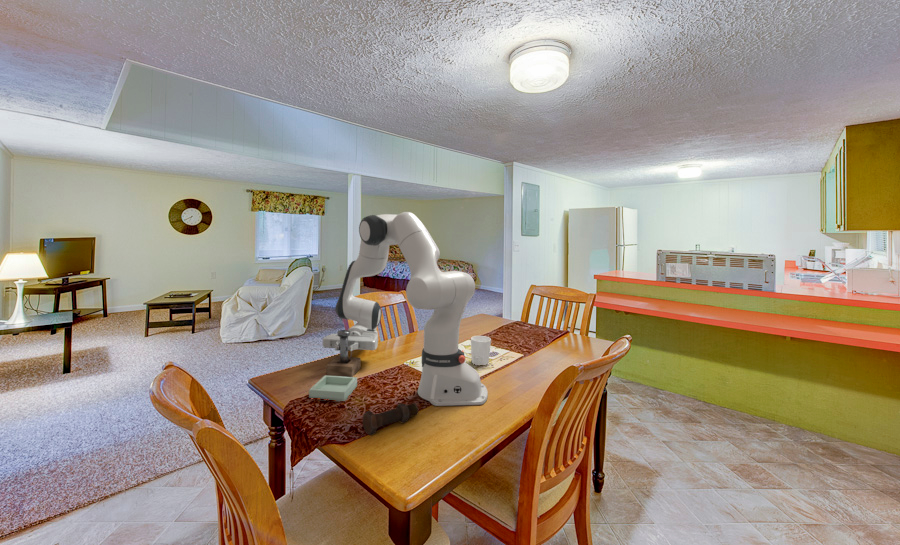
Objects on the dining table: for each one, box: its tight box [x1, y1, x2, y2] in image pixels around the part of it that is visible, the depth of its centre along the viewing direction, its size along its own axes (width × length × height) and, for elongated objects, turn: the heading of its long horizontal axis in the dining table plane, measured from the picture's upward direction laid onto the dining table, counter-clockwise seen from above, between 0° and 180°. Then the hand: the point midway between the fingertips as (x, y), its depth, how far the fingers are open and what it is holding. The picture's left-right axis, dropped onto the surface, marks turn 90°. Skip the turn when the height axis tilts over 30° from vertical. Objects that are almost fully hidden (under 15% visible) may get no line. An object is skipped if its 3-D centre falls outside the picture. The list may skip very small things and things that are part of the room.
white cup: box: [470, 335, 492, 366], centre depth 141 cm, size 8×8×10 cm
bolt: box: [362, 402, 419, 436], centre depth 95 cm, size 6×5×15 cm
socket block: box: [326, 355, 361, 377], centre depth 128 cm, size 9×9×4 cm
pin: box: [336, 329, 350, 364], centre depth 128 cm, size 4×4×15 cm
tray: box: [308, 374, 358, 402], centre depth 112 cm, size 11×11×3 cm
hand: (343, 348), depth 126 cm, fingers open, 3 cm apart
